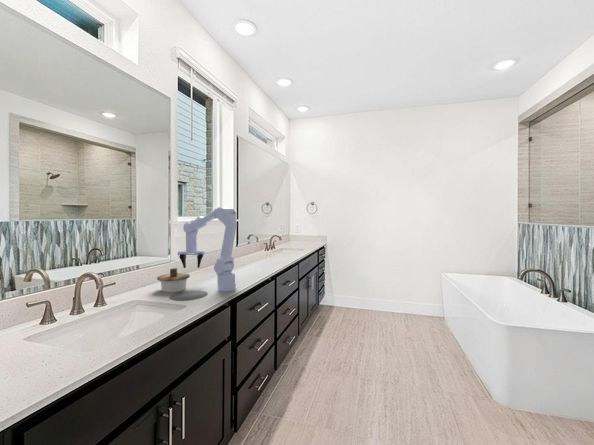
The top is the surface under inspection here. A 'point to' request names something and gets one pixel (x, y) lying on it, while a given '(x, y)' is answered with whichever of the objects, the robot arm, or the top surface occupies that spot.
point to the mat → (188, 295)
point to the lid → (173, 276)
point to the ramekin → (173, 285)
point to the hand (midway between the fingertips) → (191, 267)
